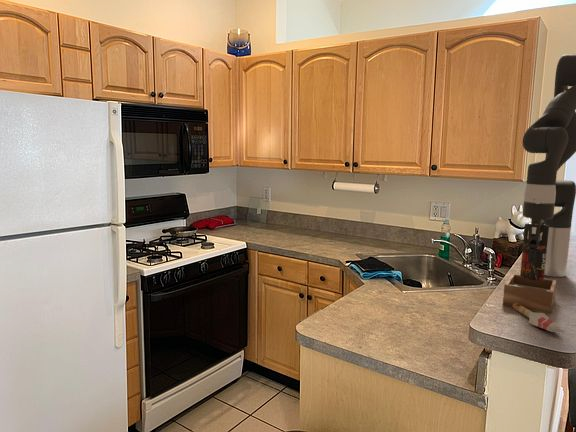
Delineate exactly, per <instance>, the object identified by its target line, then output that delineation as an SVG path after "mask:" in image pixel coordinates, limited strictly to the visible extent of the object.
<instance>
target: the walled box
mask: <svg viewBox="0 0 576 432" xmlns="http://www.w3.org/2000/svg"><path fill="white" fill-rule="evenodd" d="M503 287H504V288H503V297H502V298H503V299H502V306H506V307H510V308H513V307H512V305H513V304H514V303H518V304H520V305H521V306H523V307H525V308H527V309H528V310H530V311H532V312H535V313H544V314H545V315H551V314H552V310H553V307H554V304H555V298H556V290H557V289H556V288H557V280H556V279H549V278H544V280H529V279H525V278H522V277H520V274H518V273H517V274H516V273H511V275H510V276H509V277H508V278H507V280H506V282H505V283H504V286H503Z"/></svg>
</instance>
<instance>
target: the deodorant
mask: <svg viewBox="0 0 576 432" xmlns="http://www.w3.org/2000/svg"><path fill="white" fill-rule="evenodd" d="M529 223H530V222H529ZM529 223H524V230H523V239H522V240H523V243H522V251H521V253H522V254H521V261H520V262H521V264H520V272H519V275H520V277H522V278H525V279H529V280H544V279H545V275H544V273H545V263H546V253H547V243H548V233H549V226H548V225H543V226H545V227H542V226H541V227H540V233H539V237H540V234H541V233H542V232H543V233H542V241H541V242H539V249H538V256H537V262H536V263H531V262H528V252H529V249H528V246H527V244H528V238H527V237H528V230H529V226H531V225H528V224H529ZM531 243H533V244H536V241H531Z"/></svg>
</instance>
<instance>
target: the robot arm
mask: <svg viewBox="0 0 576 432" xmlns="http://www.w3.org/2000/svg"><path fill="white" fill-rule="evenodd" d="M555 69H556V70H555V78H554V88H553V98H552V99H551V100H550V101H549V103H548V104H547V106H546V107H545V110H544V111H543V113H542V115H541V116H540V117H539V118H538V119H536V120H535V122H534V123H532V124H531V125H530V126H529V127H528V128H527V129H526V131H525V132H524V134H523V138H522V147H523V149H524V150H525V151H526V152H527V153H531V154H545V159H544V160H542V161H536V162H535V161H534V162H531V163H529V165H528V166H527V172H526V173H527V174H526V175H527V176H526V184H525V188H524V189H525V190H524V194H523V208H522V216H523V217H525V218H527V219H531V221H530V222H529V224H528V223H527V224H528V225H531V226H529V230H528V237H527V238H528V244H527V246H528V249H529V252H528V262H531V263H536V262H537V256H538V249H539V242H541V241H542V233H543V232H542V233H541V234H540V237H539V233H540V227H541V226H542V227H545V226H543V225H548V226H549V233H548V243H547V253H546V263H545V273H544V276H547V277H553V278H554V277H555V278H563V277H566V276H567V268H568V267H567V266H568V258H569V249H570V243H571V242H570V241H571V232H572V231H571V230H572V229H571V228H572V222H573V214H574V207H575V206H574V205H575V202H576V201H575V200H576V183H575V181H573V180H564V179H563V180H559V179H557V176H558V171H559V169H560V168H561V167H562V166H563V165H564V164H565V163H566V162H567V161H569V160H570V158H572V157H573V155H574V154H575V153H576V53H575V54H574V53H572V54H571V53H570V54H569V53H566V54H563V55H562V56H561V57H560V58H559V59H558V62H557V65H556V68H555ZM556 207H558V208H561V209H560V210H559V211H557V212H555V208H556ZM531 241H536V244H533V243H531Z"/></svg>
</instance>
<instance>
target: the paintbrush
mask: <svg viewBox="0 0 576 432" xmlns="http://www.w3.org/2000/svg"><path fill="white" fill-rule="evenodd" d="M511 308H513V309H514V310H516V311H518V312H519V313H520V314H522V315H523V316H525V317H527V319H528V324H529V323H530V324H529V325H532V326H535V327H538V328H541V329H544V330H546V331H548V332H551V333H565V331H564V330H562V328H560V326H558V325H557V324H556V323H555V322H554V321H553V320H552V319H551V318H550V317H549V316H548V314H546V313H541V312H534V311H530V310H528V309H527V308H525V307H523V306H521V305H520V304H518V303H514V304H513V305H512V307H511Z"/></svg>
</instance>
